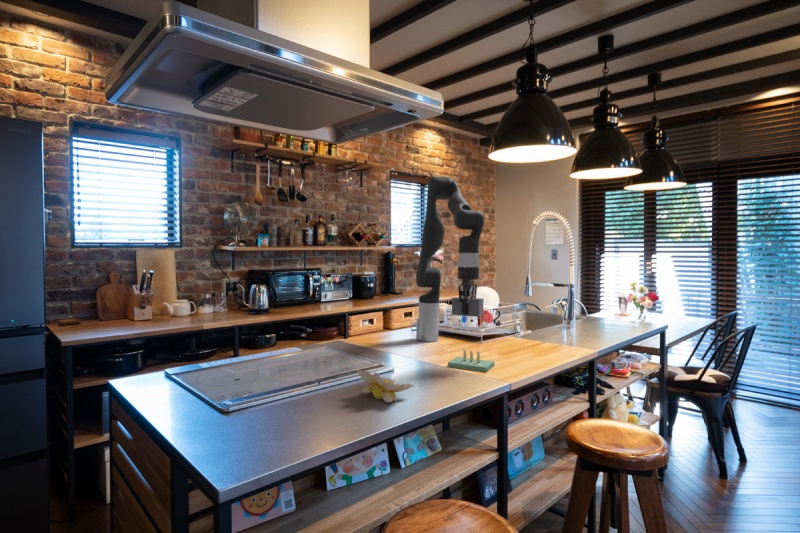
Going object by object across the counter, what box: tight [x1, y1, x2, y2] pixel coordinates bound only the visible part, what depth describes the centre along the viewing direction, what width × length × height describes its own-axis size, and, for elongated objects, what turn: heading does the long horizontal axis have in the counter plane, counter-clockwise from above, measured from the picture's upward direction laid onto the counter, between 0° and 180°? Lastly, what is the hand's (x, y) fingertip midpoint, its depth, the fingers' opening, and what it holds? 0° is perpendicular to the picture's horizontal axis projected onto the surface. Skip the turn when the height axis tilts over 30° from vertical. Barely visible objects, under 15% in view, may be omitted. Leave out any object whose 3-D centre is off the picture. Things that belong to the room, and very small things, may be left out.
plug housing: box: [451, 296, 484, 318], centre depth 160 cm, size 10×5×6 cm, turn 63°
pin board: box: [447, 349, 495, 373], centre depth 159 cm, size 14×10×6 cm
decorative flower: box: [356, 369, 414, 403], centre depth 122 cm, size 15×11×10 cm
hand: (467, 313), depth 160 cm, fingers closed on plug housing, 5 cm apart
